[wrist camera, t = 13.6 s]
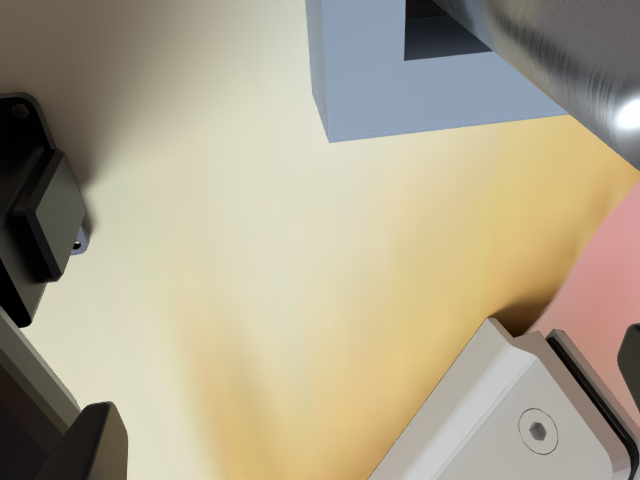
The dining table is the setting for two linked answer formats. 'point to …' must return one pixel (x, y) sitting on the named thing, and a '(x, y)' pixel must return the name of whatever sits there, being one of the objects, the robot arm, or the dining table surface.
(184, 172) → the dining table surface
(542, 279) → the dining table surface
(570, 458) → the hinge
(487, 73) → the hole block
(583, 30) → the peg
